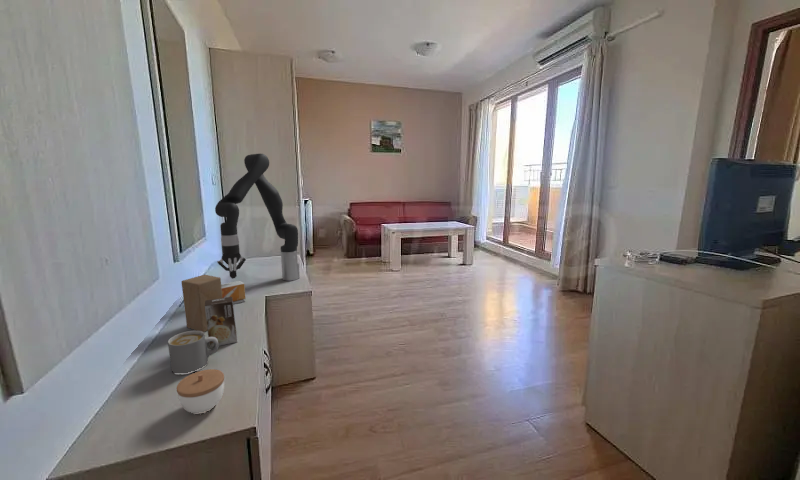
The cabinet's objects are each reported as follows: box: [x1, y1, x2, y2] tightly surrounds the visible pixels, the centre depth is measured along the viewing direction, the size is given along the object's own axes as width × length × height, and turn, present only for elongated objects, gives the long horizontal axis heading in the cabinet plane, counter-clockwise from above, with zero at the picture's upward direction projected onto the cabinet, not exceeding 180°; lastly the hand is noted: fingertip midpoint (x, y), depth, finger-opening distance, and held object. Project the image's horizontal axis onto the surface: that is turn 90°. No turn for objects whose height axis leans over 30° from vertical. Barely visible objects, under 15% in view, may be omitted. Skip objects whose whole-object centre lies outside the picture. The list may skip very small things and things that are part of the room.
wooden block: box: [181, 274, 222, 333], centre depth 133 cm, size 10×10×20 cm
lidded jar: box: [176, 368, 225, 414], centre depth 87 cm, size 11×11×9 cm
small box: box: [221, 280, 246, 302], centre depth 161 cm, size 8×6×13 cm
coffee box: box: [205, 297, 238, 348], centre depth 121 cm, size 9×6×16 cm
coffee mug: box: [167, 330, 220, 373], centre depth 106 cm, size 13×10×10 cm
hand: (233, 278), depth 162 cm, fingers closed
